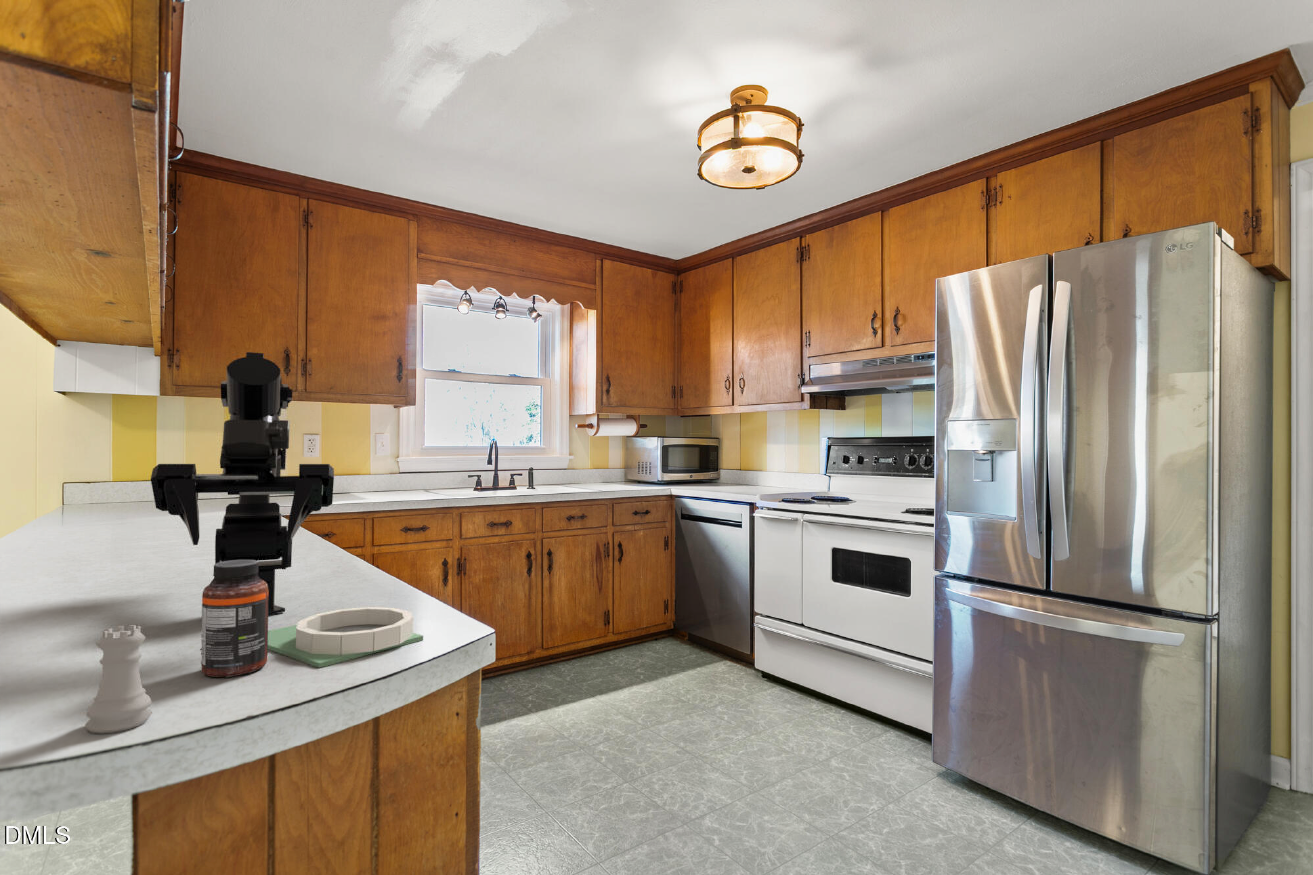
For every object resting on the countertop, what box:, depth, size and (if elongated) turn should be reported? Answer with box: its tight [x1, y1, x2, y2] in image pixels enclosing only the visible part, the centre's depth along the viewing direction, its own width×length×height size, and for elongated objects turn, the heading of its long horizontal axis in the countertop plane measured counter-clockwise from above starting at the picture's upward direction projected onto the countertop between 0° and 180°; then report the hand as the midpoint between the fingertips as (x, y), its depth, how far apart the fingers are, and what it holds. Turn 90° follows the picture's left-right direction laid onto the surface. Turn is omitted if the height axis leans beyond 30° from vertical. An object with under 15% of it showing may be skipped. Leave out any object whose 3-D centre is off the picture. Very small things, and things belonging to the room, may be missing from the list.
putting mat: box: [268, 624, 424, 669], centre depth 81 cm, size 17×13×1 cm
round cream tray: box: [296, 606, 414, 655], centre depth 80 cm, size 13×13×2 cm
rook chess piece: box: [84, 624, 153, 735], centre depth 56 cm, size 4×4×8 cm
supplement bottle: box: [199, 560, 269, 679], centre depth 70 cm, size 6×6×11 cm
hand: (243, 540), depth 76 cm, fingers open, 9 cm apart
